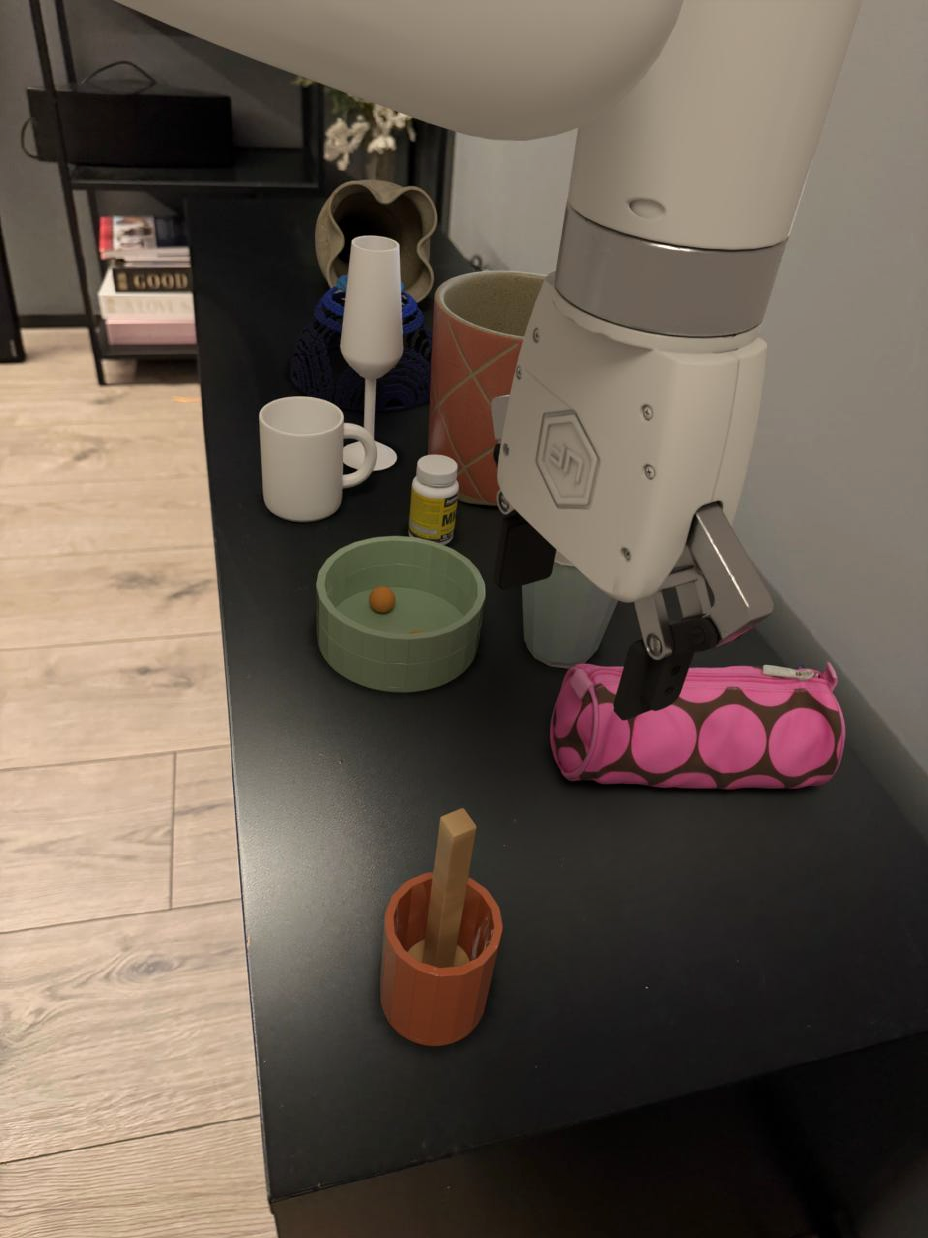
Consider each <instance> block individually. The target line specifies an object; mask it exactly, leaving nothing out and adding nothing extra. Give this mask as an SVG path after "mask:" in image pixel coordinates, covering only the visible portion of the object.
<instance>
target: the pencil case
mask: <svg viewBox="0 0 928 1238" xmlns="http://www.w3.org/2000/svg"><path fill="white" fill-rule="evenodd" d="M623 668H624V666H602V665H595V664H592V663H585V664H577V665H575V666H573V667H571V668H568V669H567V671H566V673H565V675H564V677H563V679H562V682H561V687H560V690H559V693H558V695H557V698H556V701H555V704H554V706H553V711H552V715H551V720H550V728H549V739H550V746H551V751H552V754H553V759H554V762H555V764H556V765H557V768H559V770H560V773H561V775H562V776H563V777H564V778H565V779H566V780H568V781H570V782H577V781H594V782H596V783H598V784H600V785H617V784H618V785H620V784H624V785H642V786H648V787H652V788H660V789H661V788H663V789H668V788H677V789H697V790H698V789H700V790H701V789H703V790H704V789H715V790H716V789H718V790H738V789H739V790H740V789H752V788H753V789H771V790H772V789H775V790H777V789H779V790H780V789H783V790H785V789H787V790H794V789H795V790H796V789H797V790H798V789H803V788H805V787H808V786H809V787H819V786H823V785H824V784H827V783H828V782H830V780H831V779H832V778H833V777H834V776H836V775H835V774H836V773H837V771H838V769H839V767H840V764H841V761H842V758H843V754H844V753H843V752H844V747H845V742H846V724H845V719H844V715H843V712H842V709H841V706H840V704H839V701H838V699H837V697H836V696H835V694H834V690H835V688H836V687H837V685H838V682H839V678H838V676H837V672H836V670H835V668H834V666H833V665H832V663H831V662H830V661H827V662H826V665H825V670H824V672H823V673H822V672H820V671H819V670H815V669H811V668H806V666H805V664H803V663H801V664H800V665H799V666H798V667H796V669H793V668H789V667H785V666H778V665H771V664H764V665H763V666H755V665H732V666H731V665H730V666H726V667H691V666H690V667H689V670H688V673H687V676H686V679H685V682H684V685H683V688H682V691H681V693H680V695H679V697H678V699H677V700H676V701H675V702H674V703H673V704H671V705H670V706H668V707H666V708H664V709H661V710H658V711H653V710H651V711H648V712H645V713H643V714H640V715H638V716H635V717H633V718H630V719H628V720H621V719H620V718H619V717H618V716H617V714H616V713H615V712H614V707H613V704H614V700H615V696H616V693H617V689H618V686H619V682H620V678H621V675H622V671H623Z"/></svg>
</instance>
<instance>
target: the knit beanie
mask: <svg viewBox="0 0 928 1238" xmlns="http://www.w3.org/2000/svg"><path fill="white" fill-rule="evenodd" d="M347 279H348V274H346V275H344V276H341V277H340V278H337V285H336V286H333V287H332V289H331V288H329V289H328V290H327V291H325V293H323V295H322V297H319V300H318V303H316V305H315V306H314V311H313V316H314V319H313V320H312V322H311V323H310V322H307V324H305V325H304V326H303V327H302V328H301V331H300V332H299V334H298V336H297V338H296V339H295V343H294V346H293V349H292V352H291V357H290V363H289V365H290V366H289V368H290V370H289V374H290V380H291V382H292V383H293V385H294V386H295V388H296V389H299V391H300V392H303V394H304V395H307V397H313V398H318V399H322V400H325V401H328V402H330V403H332V404H334V405H335V406H337V407H338V408H339V409H340V408H342V409H345V410H349V411H350V410H352V411H359V412H364V411H365V391H364V393H363V398H361V404H359V406H358V399H360V395H362V390H365V381H364V379H365V378H364V377H362V376H360V375H359V374H358V373H357V372H356V371H355V370H354V369H353V368H352V367H351V366H350V365H348V368H346V369H344V371H342V374H340V378H339V379H340V380H338V382H336V383H335V386H334V379H333V378H331V377H333V370H332V365H329V363H331V362H330V357H329V356H327V355H328V351H329V350H331V349H332V350H333V349H337V348H340V344H341V343H340V344H336V343H338V341H339V340H340V339H341V335H342V326H343V321H337V320H343V317H344V308H345V302H342V303H341V304H340V303H337V302H336V300H342V298H346V289H347V282H346V280H347ZM338 290H342V291H343V292H338V293H334V292H337V291H338ZM403 290H404V284H403V283H402V282H401V295H404V296H405V297H406V298H407V299H405V298H404V297H403V296H402V297H401V303H402V302H403V304H404V305H405V306H402V319H404V320H403V321H402V330H403V339H404V338H405V336H406V338H405V343H407V347H405V346H404V345H403V355H402V357H401V358H400V360H399V361H398V363H397V364H396V365H395V366H394V368H392V369H391V370H390V371H389V372H387V373H386V374H387V375H389V374H391V375H389V376H388V377H383V378H382V377H381V378H378V380H376V389H378V387H380V386H382V385H383V387H381V389H379V390H378V391H376V397H375V413H378V412H384V413H386V412H394V411H401V410H402V411H404V410H405V409H411V408H413V407H417V406H419V405H424V404H425V403H427V402H430V385H431V357H432V337H433V332H431V330H429V328H428V327H427V324H426V323H425V322H424V320H425V316H424V315H423V311H422V310H421V309H420V307H418V303H417V302H416V301H415V300H414V299H413V298H412V297H411V296H410V295H409V294H408V293H405V292H404V291H403ZM323 307H325V308H326V310H325V309H324V311H323V310H322V308H323ZM414 313H416V315H415V314H414ZM319 327H320V328H319ZM326 329H328V330H326ZM419 329H420V330H419ZM325 330H326V332H324V331H325ZM418 330H419V331H418ZM417 331H418V336H417V337H416V339H415V342H414V345H413V349H411V347H412V343H413V338H414V336H415V335H416V332H417ZM323 332H324V334H322V333H323ZM330 334H331V335H330ZM328 338H329V341H327V340H328ZM424 340H425V342H424V343H423V341H424ZM427 348H429V352H428V355H427V358H426V357H425V353H426V351H427ZM318 352H319V354H317V353H318ZM404 356H405V357H404ZM408 358H409V359H408ZM306 359H307V360H308V365H309V369H310V371H311V379H312V385H313V388H311V380H310V373H309V372H310V371H309V369H308V365H307V362H306ZM319 359H320V361H321V364H322V370H323V371H324V372H321V371H322V370H321V367H320V364H319ZM413 359H414V360H413ZM400 365H401V367H403V368H398V367H396V366H400ZM401 372H403V373H404V374H405V375H402V376H399V375H398V374H399V373H401ZM392 374H393V375H392ZM322 376H323V377H324V382H323V378H322ZM409 376H411V377H412V379H410V377H409ZM419 376H420V377H421V378H420V377H419ZM351 377H352V378H351ZM349 378H350V379H349ZM414 379H415V380H414ZM362 381H363V382H362ZM390 381H401V382H404V384H403V383H392V384H385V383H384V382H390ZM360 383H362V384H360ZM406 384H408V385H409V386H410V387H412V388H409V387H408V386H407V385H406ZM359 385H360V386H359ZM324 386H326V387H324ZM345 386H346V387H345ZM335 387H336V393H335ZM420 388H421V390H420ZM318 390H319V392H318ZM413 390H415V393H414V391H413ZM333 394H334V401H333ZM353 394H356V396H354V401H353V403H352V404H351V398H352V399H353ZM415 394H417V396H416V395H415ZM416 397H417V399H416ZM396 398H397V400H399V402H401V404H402V405H396V406H389V407H385V406H386V405H387V404H388V403H389V401H391V399H396Z"/></svg>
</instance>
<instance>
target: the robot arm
mask: <svg viewBox="0 0 928 1238" xmlns="http://www.w3.org/2000/svg"><path fill="white" fill-rule="evenodd" d="M113 1H114V2H116V3H118V4H120V5H122V6H125V7H127V8H129V9H132V10H134V11H137V12H138V13H141V14H143V15H146V16H147V17H150V18H152V19H154V20H156V21H159V22H161V23H164V24H165V25H168V26H169V27H172V28H175V29H177V30H179V31H183V32H185V33H188V34H190V35H192V36H194V37H197V38H199V39H202V40H205V41H206V42H209V43H211V44H214V45H216V46H219V47H221V48H224V49H227V50H229V51H232V52H235V53H237V54H240V55H243V56H245V57H247V58H250V59H253V60H254V61H258V62H261V63H263V64H266V65H268V66H271V67H273V68H277V69H280V70H282V71H285V72H287V73H290V74H293V75H295V76H299V77H301V78H303V79H307V80H309V81H313V82H315V83H318V84H321V85H323V86H326V87H329V88H331V89H334V90H336V91H337V90H338V91H340V92H343V93H346V94H348V95H350V96H353V97H356V98H358V99H361V100H365V101H367V102H369V103H372V104H375V105H378V106H379V107H383V108H386V109H389V110H391V111H394V112H397V113H399V114H402V115H405V116H408V117H411V118H413V119H417V120H419V121H422V122H425V123H427V124H430V125H434V126H437V127H439V128H443V129H447V130H450V131H453V132H455V133H459V134H462V135H466V136H469V137H472V138H473V137H474V138H479V139H484V140H491V141H503V142H505V141H507V142H510V141H512V142H531V141H537V140H543V139H549V138H554V137H559V136H561V135H564V134H567V133H569V132H572V131H574V130H576V129H577V131H576V137H575V138H576V139H575V144H574V151H573V159H572V165H571V169H570V170H571V171H570V178H569V182H568V183H569V185H568V190H567V198H566V202H565V209H564V216H563V221H562V229H561V235H560V242H559V247H558V248H559V249H558V252H557V259H556V267H555V270H554V271H551V272H550V273H548V274H547V276H546V277H545V280H544V282H543V285H542V287H541V290H540V292H539V294H538V297H537V299H536V302H535V305H534V308H533V311H532V314H531V317H530V320H529V323H528V326H527V328H526V332H525V336H524V339H523V343H522V346H521V350H520V353H519V357H518V361H517V366H516V370H515V374H514V378H513V383H512V388H511V392H510V395H505V396H500V397H495V398H493V399H492V401H491V412H492V420H493V427H494V434H495V440H498V444H496V445H495V447H494V452H493V459H494V461H495V463H496V467H497V470H498V471H497V480H498V485H499V487H500V490H499V491H498V493H497V505H498V506H497V508H498V510H499V511H500V512H501V513H502V515H505V516H506V517H501V524H500V529H499V536H498V543H497V550H496V557H495V563H494V569H493V570H494V571H493V577H492V582H493V584H494V585H495V586H496V588H498V590H500V591H510V590H512V589H516V588H519V587H522V586H523V585H526V584H530V583H533V582H537V581H540V580H544V579H547V578H549V577H550V576H551V574H552V571H553V566H554V560H555V555H556V550H558V551H559V552H560V553H561V554H562V555H563V556H564V557H565V558H566V559H567V560H568V561H570V562H571V563H572V564H573V565H574V566H575V567H576V568H577V569H578V570H579V571H580V572H581V573H583V574H584V575H585V576H586V577H587V578H588V579H589V580H590V581H591V582H593V583H594V584H595V585H596V586H597V587H598V588H599V589H601V590H602V591H603V592H605V593H606V594H607V595H609V596H611V597H613V598H614V599H616V600H618V602H622V603H627V604H629V603H633V605H634V608H635V612H636V617H637V620H638V625H639V629H640V633H641V637H642V639H639V640H636V641H633V642H632V643H631V644H630V646H629V647H628V650H627V654H626V657H625V661H624V664H623V667H624V668H623V671H622V675H621V678H620V682H619V686H618V689H617V693H616V696H615V700H614V704H613V707H614V712H615V713H616V714H617V716H618V717H619V718H620V719H621V720H628V719H630V718H633V717H635V716H638V715H640V714H643V713H645V712H648V711H651V710H653V711H658V710H661V709H664V708H666V707H668V706H670V705H671V704H673V703H674V702H675V701H676V700H677V699H678V697H679V695H680V693H681V691H682V688H683V685H684V682H685V679H686V676H687V673H688V670H689V667H691V665H692V661H693V658H694V656H695V653H699V652H705V651H708V650H711V649H714V648H716V647H719V646H721V645H725V644H727V643H730V642H733V641H736V640H738V639H740V638H741V637H742V636H743V634H744V633H747V632H748V631H750V630H751V629H753V628H755V626H757V625H758V624H760V623H761V622H763V621H765V619H767V618H769V617H770V616H771V615H772V614H773V612H774V609H775V603H774V599H773V597H772V595H771V593H770V591H769V590H768V588H767V586H766V584H765V583H764V581H763V579H762V577H761V576H760V574H759V572H758V570H757V569H756V567H755V565H754V564H753V562H752V560H751V558H750V556H749V555H748V553H747V551H746V549H745V548H744V546H743V544H742V543H741V540H740V539H739V537H738V535H737V533H736V532H735V530H734V528H733V524H734V521H735V517H736V514H737V512H738V508H739V505H740V501H741V497H742V494H743V490H744V486H745V481H746V477H747V474H748V469H749V466H750V462H751V457H752V452H753V447H754V444H755V443H754V442H755V438H756V434H757V433H756V432H757V427H758V423H759V422H758V421H759V417H760V416H759V415H760V411H761V404H762V396H763V389H764V383H765V374H766V363H767V362H766V361H767V352H768V343H767V341H766V340H764V339H763V337H761V336H759V335H760V333H761V329H762V327H763V324H764V320H765V315H766V312H767V310H768V306H769V303H770V299H771V296H772V293H773V290H774V287H775V283H776V280H777V277H778V273H779V270H780V267H781V264H782V260H783V258H784V254H785V251H786V248H787V244H788V241H789V238H790V235H791V233H792V229H793V226H794V224H795V223H794V222H795V220H796V217H797V213H798V210H799V206H800V202H801V201H802V197H803V194H804V190H805V187H806V184H807V181H808V177H809V176H810V175H809V174H810V171H811V168H812V164H813V162H814V159H815V156H816V151H817V149H818V146H819V142H820V138H821V135H822V132H823V129H824V126H825V123H826V119H827V116H828V113H829V109H830V107H831V104H832V100H833V97H834V95H835V91H836V86H837V84H838V80H839V77H840V74H841V71H842V67H843V64H844V62H845V58H846V55H847V51H848V48H849V45H850V42H851V38H852V35H853V32H854V30H855V25H856V22H857V19H858V16H859V13H860V9H861V7H862V4H863V3H862V2H863V0H113ZM706 582H707V584H708V586H709V587H710V589H711V592H712V594H713V598H714V602H713V605H711V601H710V598H709V593H708V588H707V584H706ZM673 588H675V591H676V594H677V598H678V603H679V607H680V611H681V614H682V615H681V616H682V617H681V618H678V619H675V620H673V621H670V620H669V616H668V612H667V608H666V602H665V599H664V595H663V591H666V590H670V589H673Z"/></svg>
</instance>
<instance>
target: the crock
mask: <svg viewBox="0 0 928 1238" xmlns="http://www.w3.org/2000/svg"><path fill="white" fill-rule="evenodd" d="M432 879H433V871H429V872H428V871H427V872H424V873H422V874H420V875H416V876H415V877H412V878H410V879H408V880H406V881H405V882H404V883H403V884H402V885H401V886H400V887H399V888H398V889H397V890H396V891H395V892H394V893H393V894H392V895H391V897H390V900H389V902H388V904H387V907H386V910H385V913H384V921H383V933H382V948H381V960H380V961H381V962H380V973H379V1001H380V1006H381V1009H382V1012H383V1014H384V1016H385V1018H386V1020H387V1022H388V1023H389V1025H390V1026H391V1027H392V1028H393V1030H395V1031H396V1032H397V1033H398V1034H399V1035H400V1036H402V1037H404V1038H405V1039H407V1040H408V1041H410V1042H413V1043H415V1044H419V1045H422V1046H427V1047H441V1046H447V1045H451V1044H454V1043H456V1042H458V1041H460V1040H463V1038H465V1037H467V1036H468V1035H470V1033H472V1031H473V1030H475V1028H476V1027H477V1026H478V1024H479V1023H480V1021H481V1020H482V1018H483V1015H484V1013H485V1009H486V1005H487V1002H488V997H489V994H490V988H491V984H492V979H493V975H494V970H495V966H496V962H497V956H498V952H499V948H500V945H501V944H500V943H501V939H502V934H503V930H504V925H503V921H502V914H501V909H500V907H499V905H498V903H497V902H496V901H495V899H494V897H493V896H492V894H491V893H490V891H489V890H488V889H487V888H486V887H484V886H483V885H481V884H480V883H479V882H477V881H476V880H474V879H473V878H472V877H469V876H468V882H467V888H466V894H465V900H464V906H463V911H462V917H461V923H460V929H459V935H458V941H457V945H458V946H460V947H461V948H462V949H463V950H464V952H465V953H466V954H467V956H468V958H469V960H470V962H468V963H466V964H464V965H462V966H459V967H446V968H438V967H435V966H431V965H428V964H425V963H421V962H419V961H418V960H417V959H415V958H414V957H413V956H411V955H410V954H409V953H408V951H409V949H410V948H411V947H412V946H413V945H415V944H416V943H418V942H420V941H422V940H424V939H425V935H426V927H427V919H428V911H429V903H430V895H431V887H432Z"/></svg>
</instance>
